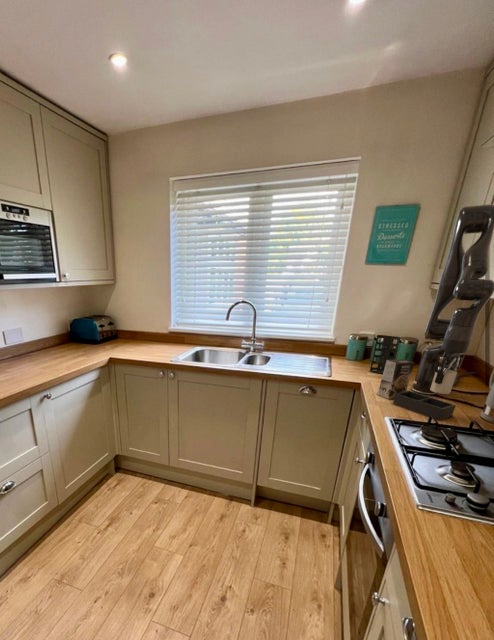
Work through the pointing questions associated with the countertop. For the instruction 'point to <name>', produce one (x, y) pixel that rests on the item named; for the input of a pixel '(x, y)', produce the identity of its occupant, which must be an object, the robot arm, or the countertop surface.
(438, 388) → the cup
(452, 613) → the countertop surface
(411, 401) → the cup holder
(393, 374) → the coffee box
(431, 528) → the countertop surface
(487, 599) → the countertop surface
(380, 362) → the holder
